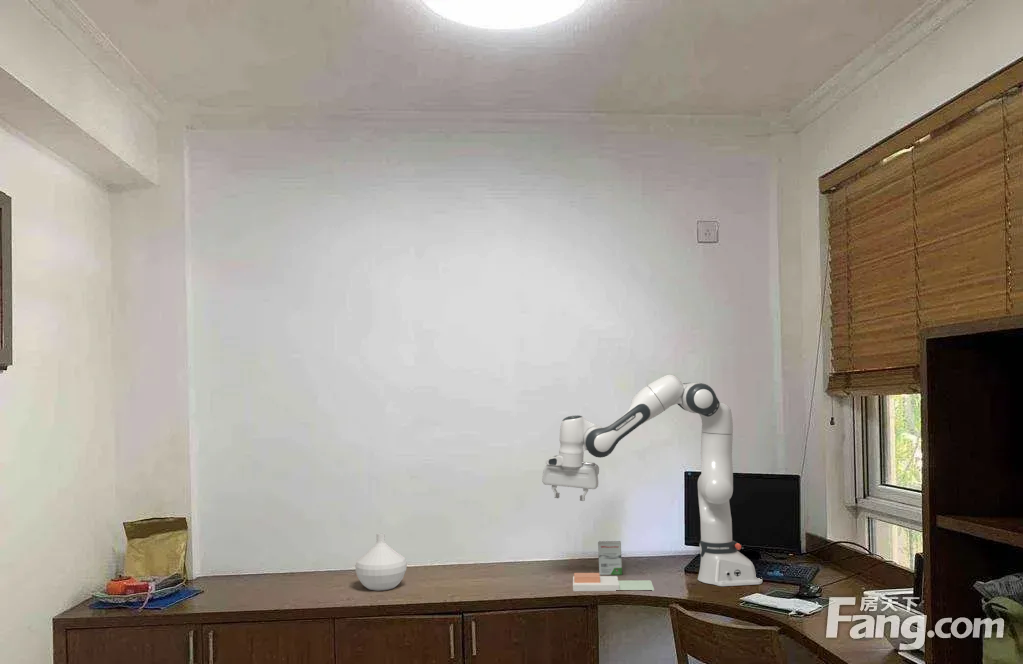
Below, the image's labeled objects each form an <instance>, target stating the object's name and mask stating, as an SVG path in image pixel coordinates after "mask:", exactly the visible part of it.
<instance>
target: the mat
mask: <svg viewBox="0 0 1023 664" xmlns="http://www.w3.org/2000/svg"><path fill="white" fill-rule="evenodd" d="M618 582H619V590H652V591H653V592H655V587H654V585H653V583H652V580H648V579H645V580H644V579H643V580H642V579H641V580H640V579H639V580H628V579H627V580H626V579H625V580H618ZM652 591H651V592H652Z"/></svg>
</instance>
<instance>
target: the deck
mask: <svg viewBox="0 0 1023 664" xmlns="http://www.w3.org/2000/svg"><path fill="white" fill-rule="evenodd" d="M618 581H619V577H618V575H600V583H574V575H573V576H572V591H573V592H617V591H616V590H619V582H618Z"/></svg>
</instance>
